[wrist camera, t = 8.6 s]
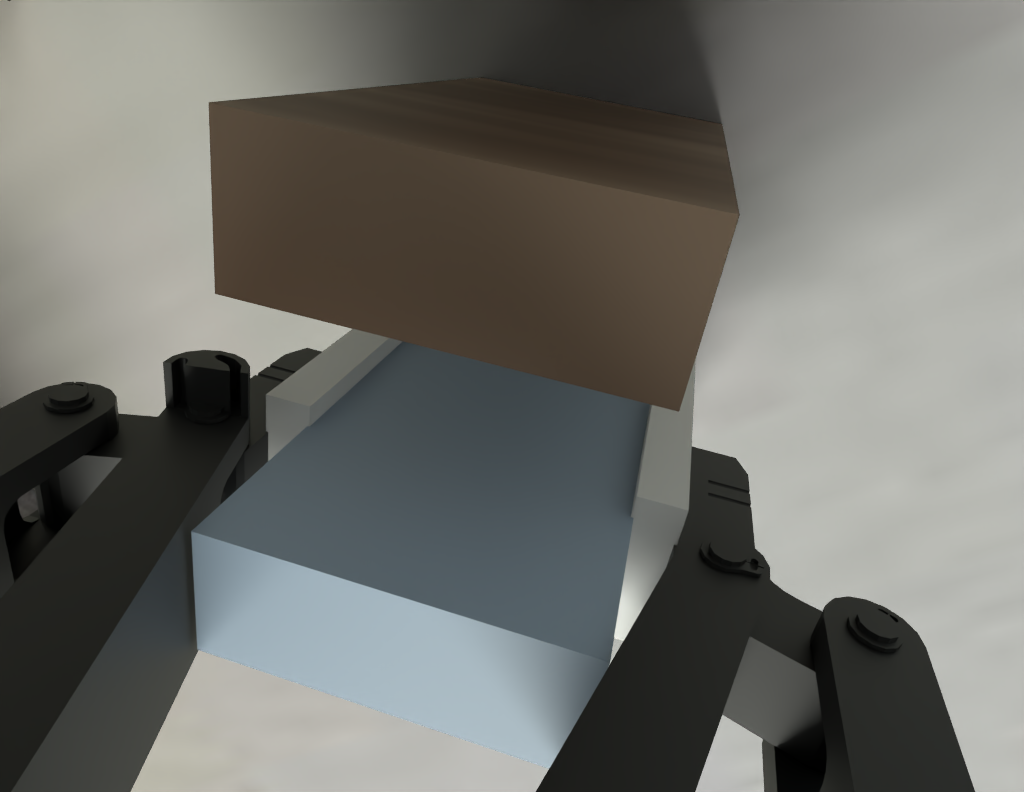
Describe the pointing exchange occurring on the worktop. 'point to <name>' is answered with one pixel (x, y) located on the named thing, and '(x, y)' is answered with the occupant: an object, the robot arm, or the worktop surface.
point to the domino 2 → (435, 550)
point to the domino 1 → (481, 224)
